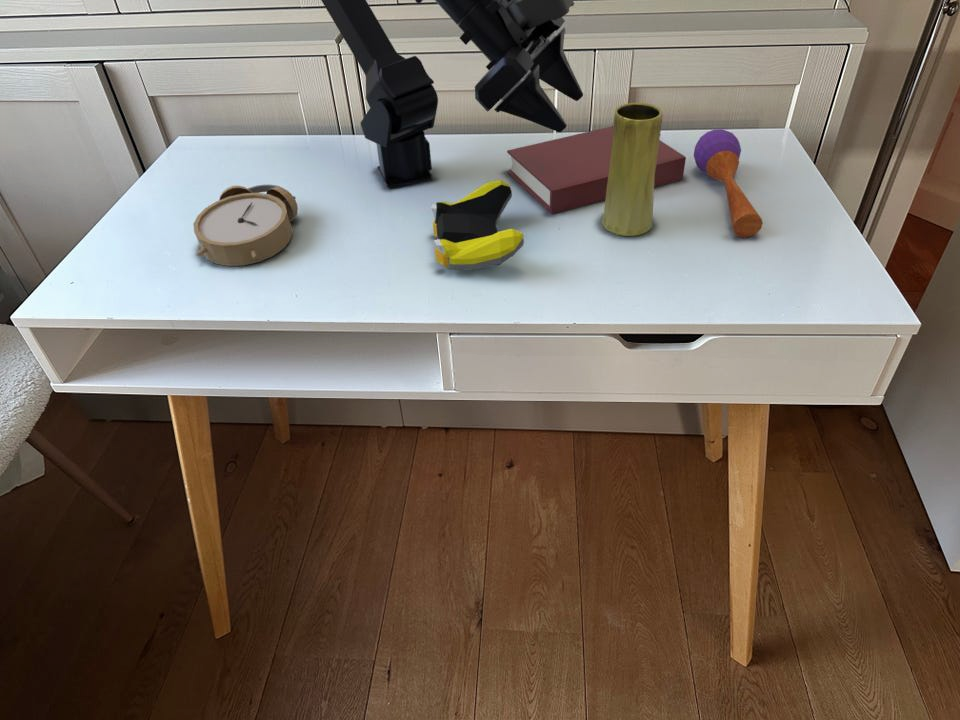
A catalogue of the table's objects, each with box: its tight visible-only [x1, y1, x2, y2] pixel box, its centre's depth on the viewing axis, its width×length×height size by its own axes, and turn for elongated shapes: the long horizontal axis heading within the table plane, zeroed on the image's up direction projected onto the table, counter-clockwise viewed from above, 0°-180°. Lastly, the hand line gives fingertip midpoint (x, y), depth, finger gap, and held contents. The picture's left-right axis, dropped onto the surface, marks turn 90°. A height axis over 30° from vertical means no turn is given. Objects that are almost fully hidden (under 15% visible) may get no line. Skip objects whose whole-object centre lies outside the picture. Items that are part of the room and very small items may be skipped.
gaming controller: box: [430, 179, 525, 271], centre depth 85 cm, size 15×6×10 cm
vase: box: [601, 102, 663, 237], centre depth 84 cm, size 6×6×14 cm
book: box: [506, 125, 687, 215], centre depth 98 cm, size 20×13×3 cm, turn 113°
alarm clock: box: [193, 184, 299, 267], centre depth 90 cm, size 11×5×15 cm
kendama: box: [693, 128, 764, 239], centre depth 91 cm, size 6×6×20 cm
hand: (572, 113), depth 82 cm, fingers open, 9 cm apart
